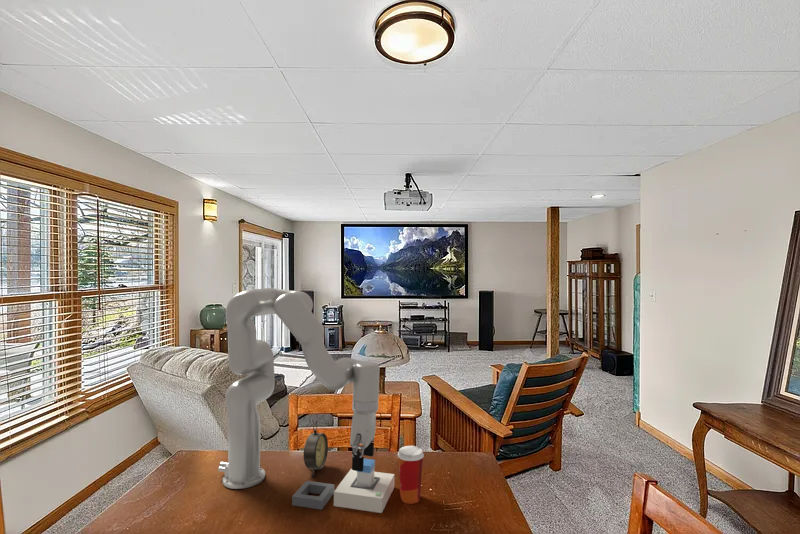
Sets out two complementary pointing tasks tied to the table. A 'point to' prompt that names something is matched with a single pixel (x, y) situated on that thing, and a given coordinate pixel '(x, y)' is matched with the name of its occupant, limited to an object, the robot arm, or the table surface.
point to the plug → (366, 474)
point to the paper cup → (410, 473)
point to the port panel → (364, 492)
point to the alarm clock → (315, 450)
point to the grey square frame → (313, 501)
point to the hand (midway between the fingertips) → (363, 462)
